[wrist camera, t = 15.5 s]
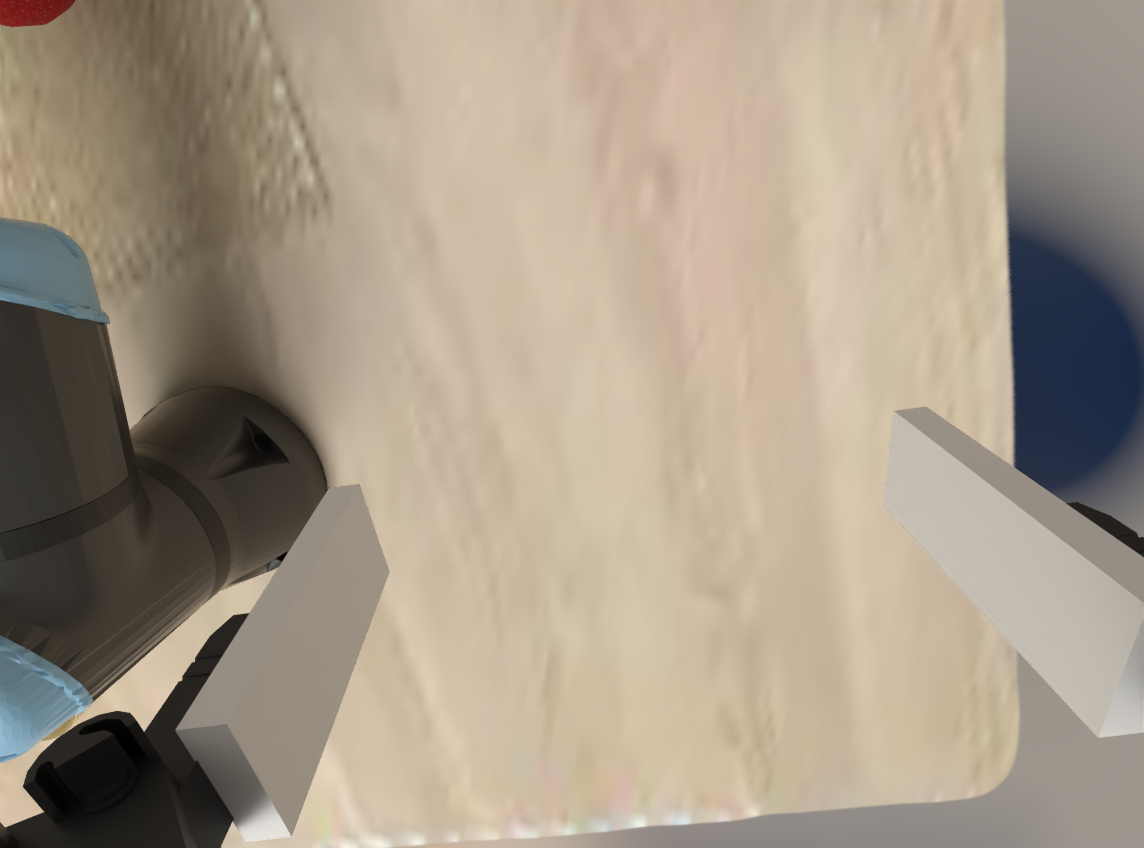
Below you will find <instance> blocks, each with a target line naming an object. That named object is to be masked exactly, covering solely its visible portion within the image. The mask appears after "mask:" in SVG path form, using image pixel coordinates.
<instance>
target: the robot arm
mask: <svg viewBox="0 0 1144 848" xmlns="http://www.w3.org/2000/svg"><path fill="white" fill-rule="evenodd" d="M106 324H110V321H109V317H108V315H107V314H106V313H105V312H104V311H102V309H101V306H100V302H99V299H98V295H97V292H96V288H95V285H94V281H93V277H92V274H91V270H90V267H89V263H88V260H87V257H86V255H85V253H84V252H83V250H82V249H81V247H80V246H79V245H78V244H77V243H76V242H75V241H74V240H73V239H72V238H71V237H69V236H68V235H66V234H65V233H63V232H62V231H60V230H58V229H56V228H54V227H51V226H48V225H45V224H41V223H36V222H30V221H24V220H16V219H8V218H0V763H3V762H6V761H9V760H11V759H14V758H16V757H18V756H20V755H21V754H23V753H25V752H27V751H28V750H30V749H31V748H32V747H34V746H35V745H36V744H37V743H39V742H40V741H41V740H43V739H44V738H45V737H47V736H48V735H49V734H50V733H52V732H53V731H54V730H56V729H57V728H58V727H60V726H61V725H62V724H63V723H65V722H66V721H67V720H69V719H70V718H71V717H73V716H74V715H78V714H80V713H82V712H83V711H85V710H86V709H87V708H88V706H90V704H91V703H93V702H94V701H95V700H96V699H97V698H98V697H99V696H100V695H102V694H103V693H104V692H105V691H106V690H107V689H108V688H109V687H111V686H112V685H113V684H114V683H115V682H116V681H117V680H119V679H120V678H121V677H122V676H123V675H124V674H125V673H126V672H128V671H129V670H130V669H131V668H132V667H133V666H134V665H136V664H137V663H138V662H139V661H140V660H141V659H142V658H143V657H145V656H146V655H147V654H148V653H149V652H150V651H151V650H153V649H154V648H155V647H156V646H157V645H158V644H159V643H160V642H162V641H163V640H164V639H165V638H166V637H167V636H168V635H169V634H171V633H172V632H173V631H174V630H175V629H176V628H177V627H179V626H180V625H181V624H182V623H183V622H184V621H185V620H186V619H188V618H189V617H190V616H191V615H192V614H193V613H194V612H196V611H197V610H198V609H199V608H200V607H201V606H202V605H203V604H205V603H206V602H207V601H208V600H209V599H211V598H212V597H213V596H214V595H215V594H217V593H218V592H219V591H221V590H224V589H226V588H229V587H231V586H234V585H236V584H239V583H241V582H244V581H246V580H248V579H251V578H253V577H256V576H259V575H261V574H264V573H266V572H269V571H271V570H274V569H276V568H278V567H279V568H278V569H277V571H276V572H275V574H274V576H273V577H272V579H271V580H270V582H269V583H268V585H267V587H266V588H265V590H264V591H263V593H262V595H261V596H260V598H259V599H258V601H257V602H256V604H255V606H254V607H253V609H252V610H251V612H250V613H246V614H239V615H233V616H232V617H231V618H230V619H229V620H228V621H226V622H225V623H224V624H223V625H222V626H221V627H220V628H219V629H217V630H216V631H215V632H214V633H213V634H212V635H211V636H210V637H209V638H208V640H207V641H206V643H205V644H204V646H203V647H202V649H201V650H200V652H199V653H198V654H197V656H196V657H195V662H193V663H191V665H190V666H189V668H188V669H187V671H186V672H185V673H184V675H183V676H182V678H183V679H182V681H180V682H178V684H177V685H176V687H175V688H174V689H173V691H172V692H171V694H170V695H169V697H168V698H167V700H166V701H165V703H164V704H163V706H162V707H161V708H160V710H159V711H158V713H157V714H156V716H155V717H154V719H153V720H152V722H151V723H150V724H149V726H148V727H147V729H146V730H145V732H144V731H143V730H142V728H141V727H140V725H139V724H138V722H137V721H136V720H135V718H134V717H133V716H132V715H131V713H127V712H121V711H115V712H110V713H105V714H101V715H98V716H95V717H93V718H91V719H89V720H87V721H84V722H82V723H80V724H78V725H77V726H75V727H74V728H72V729H71V730H69V731H68V732H66V733H64V734H63V735H61V736H60V737H58V738H57V739H56V740H55V741H54V742H53V743H52V744H51V745H50V746H49V747H47V748H46V749H45V750H44V751H43V752H42V753H41V754H40V755H39V756H38V758H37V759H36V760H35V762H34V763H33V765H32V766H31V767H30V769H29V770H28V772H27V775H26V778H25V781H24V785H23V788H24V789H25V790H26V791H27V792H28V793H29V795H30V796H31V797H32V798H33V799H34V800H35V802H36V803H37V804H38V805H39V806H40V807H41V809H42V810H43V811H44V812H43V813H41V814H38V815H36V816H33V817H31V818H28V819H26V820H23V821H21V822H18V823H16V824H13V825H11V826H8V827H4V826H3V825H2V824H1V823H0V848H221V845H222V843H223V840H224V838H225V836H226V834H227V832H228V830H229V828H230V825H231V823H232V821H233V822H234V824H235V825H236V827H237V829H238V830H239V832H240V833H241V835H242V837H243V838H244V840H245V841H246V842H251V841H260V840H268V839H276V838H284V837H292V834H293V831H294V829H295V826H296V823H297V820H298V818H299V815H300V812H301V810H302V807H303V804H304V802H305V799H306V796H307V793H308V791H309V788H310V785H311V783H312V780H313V777H314V774H315V772H316V769H317V766H318V764H319V761H320V758H321V756H322V753H323V750H324V747H325V745H326V742H327V739H328V737H329V734H330V731H331V728H332V726H333V723H334V720H335V718H336V715H337V712H338V710H339V707H340V704H341V701H342V699H343V696H344V693H345V691H346V688H347V685H348V683H349V680H350V677H351V674H352V672H353V669H354V666H355V664H356V661H357V658H358V655H359V653H360V650H361V647H362V645H363V642H364V639H365V637H366V634H367V631H368V628H369V626H370V623H371V620H372V618H373V615H374V612H375V609H376V607H377V604H378V601H379V599H380V596H381V593H382V591H383V588H384V585H385V582H386V580H387V577H388V574H389V569H388V566H387V563H386V560H385V557H384V554H383V551H382V549H381V546H380V543H379V540H378V537H377V534H376V531H375V528H374V525H373V522H372V519H371V516H370V513H369V510H368V507H367V504H366V502H365V499H364V496H363V493H362V490H361V487H360V484H356V485H349V486H341V487H334V488H329V489H328V491H327V490H326V483H325V479H324V475H323V471H322V468H321V466H320V463H319V461H318V458H317V456H316V454H315V452H314V451H313V449H312V447H311V446H310V444H309V442H308V441H307V440H306V438H305V437H304V435H303V434H302V433H301V432H300V430H299V429H298V428H297V427H296V426H295V425H294V424H293V423H292V422H291V421H290V420H289V419H288V418H287V417H286V416H285V415H283V414H282V413H281V412H280V411H278V410H277V409H276V408H274V407H273V406H271V405H270V404H268V403H266V402H265V401H263V400H261V399H259V398H257V397H255V396H253V395H250V394H248V393H245V392H242V391H239V390H235V389H230V388H224V387H203V388H198V389H194V390H190V391H188V392H185V393H183V394H180V395H177V396H175V397H172V398H170V399H167V400H165V401H163V402H161V403H160V404H158V405H156V406H155V407H153V408H152V409H151V410H149V411H148V412H147V413H146V414H145V415H144V416H143V417H142V419H141V420H140V421H139V422H138V423H137V424H136V425H135V426H133V427H132V428H131V429H130V430H129V426H128V422H127V417H126V413H125V408H124V403H123V399H122V394H121V390H120V385H119V380H118V376H117V371H116V366H115V362H114V357H113V353H112V348H111V343H110V339H109V334H108V330H107V325H106ZM883 506H884V508H885V509H886V510H887V511H888V512H889V513H890V514H891V515H892V516H893V517H894V518H895V519H896V520H897V522H898V523H899V524H900V525H901V526H902V527H903V528H904V529H905V530H906V531H907V532H908V533H909V534H910V536H911V537H912V538H913V539H914V540H915V541H916V542H917V543H918V544H919V545H920V546H921V547H922V549H923V550H924V551H925V552H926V553H927V554H928V555H929V556H930V557H931V558H932V559H933V560H934V561H935V563H936V564H937V565H938V566H939V567H940V568H941V569H942V570H943V571H944V572H945V573H946V574H947V575H948V577H949V578H950V579H951V580H952V581H953V582H954V583H955V584H956V585H957V586H958V587H959V588H960V589H961V591H962V592H963V593H964V594H965V595H966V596H967V597H968V598H969V599H970V600H971V601H972V602H973V603H974V605H975V606H976V607H977V608H978V609H979V610H980V611H981V612H982V613H983V614H984V615H985V616H986V617H987V619H988V620H989V621H990V622H991V623H992V624H993V625H994V626H995V627H996V628H997V629H998V630H999V631H1000V633H1001V634H1002V635H1003V636H1004V637H1005V638H1006V639H1007V640H1008V641H1009V642H1010V643H1011V644H1012V645H1013V647H1014V648H1015V649H1016V650H1017V651H1018V652H1019V653H1020V654H1021V655H1022V656H1023V657H1024V658H1025V659H1026V661H1027V662H1028V663H1029V664H1030V665H1031V666H1032V667H1033V668H1034V669H1035V670H1036V671H1037V672H1038V673H1039V674H1040V676H1041V677H1042V678H1043V679H1044V680H1045V681H1046V682H1047V683H1048V684H1049V685H1050V686H1051V687H1052V688H1053V690H1054V691H1055V692H1056V693H1057V694H1058V695H1059V696H1060V697H1061V698H1062V699H1063V700H1064V701H1065V702H1066V704H1067V705H1068V706H1069V707H1070V708H1071V709H1072V710H1073V711H1074V712H1075V713H1076V714H1077V715H1078V716H1079V718H1080V719H1081V720H1082V721H1083V722H1084V723H1085V724H1086V725H1087V726H1088V727H1089V728H1090V729H1091V731H1093V733H1094V734H1095V735H1096V736H1097V737H1098V738H1100V737H1108V736H1116V735H1124V734H1132V733H1141V732H1144V538H1143V537H1141V538H1139V537H1138V535H1137V533H1136V532H1134V531H1133V530H1131V529H1130V528H1128V527H1127V526H1125V525H1124V524H1122V523H1121V522H1119V521H1118V520H1116V519H1114V518H1113V517H1112V516H1110V515H1107V514H1105V513H1102V512H1100V511H1097V510H1095V509H1093V508H1090V507H1088V506H1085V505H1083V504H1080V503H1078V502H1075V503H1067V504H1066V503H1064V502H1063V501H1061V500H1060V499H1058V498H1057V497H1056V496H1054V495H1053V494H1051V493H1050V492H1048V491H1047V490H1046V489H1044V488H1043V487H1041V486H1040V485H1038V484H1037V483H1035V482H1034V481H1033V480H1031V479H1030V478H1028V477H1027V476H1025V475H1024V474H1022V473H1021V472H1020V471H1018V470H1017V469H1015V468H1014V467H1012V466H1011V465H1010V464H1008V463H1007V462H1005V461H1004V460H1002V459H1001V458H999V457H998V456H997V455H995V454H994V453H992V452H991V451H989V450H988V449H986V448H985V447H984V446H982V445H981V444H979V443H978V442H976V441H975V440H973V439H972V438H971V437H969V436H968V435H966V434H965V433H963V432H962V431H960V430H959V429H958V428H956V427H955V426H953V425H952V424H950V423H949V422H947V421H946V420H945V419H943V418H942V417H940V416H939V415H937V414H936V413H934V412H933V411H932V410H930V409H929V408H927V407H920V408H912V409H905V410H898V411H894V416H893V425H892V434H891V443H890V451H889V460H888V469H887V478H886V486H885V495H884V504H883Z"/></svg>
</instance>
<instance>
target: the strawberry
mask: <svg viewBox="0 0 1144 848" xmlns="http://www.w3.org/2000/svg"><path fill="white" fill-rule="evenodd" d="M74 2H75V0H0V24H1V25H5V26H10V27H17V26H35V25H44V24H47V23H49V22H51V21H52V20H54V19H55V18H57V17H58V16H59V15H61V14H62V13H63V12H65V11H66V10H68V9H69V8H70V7H71V6H72V4H73V3H74Z"/></svg>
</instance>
